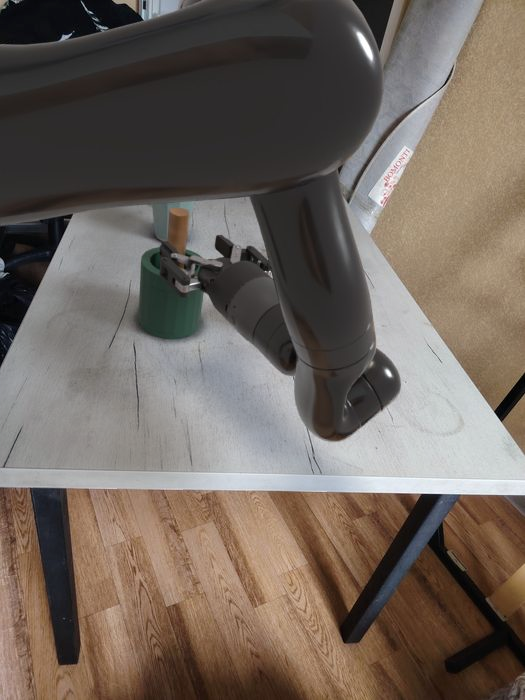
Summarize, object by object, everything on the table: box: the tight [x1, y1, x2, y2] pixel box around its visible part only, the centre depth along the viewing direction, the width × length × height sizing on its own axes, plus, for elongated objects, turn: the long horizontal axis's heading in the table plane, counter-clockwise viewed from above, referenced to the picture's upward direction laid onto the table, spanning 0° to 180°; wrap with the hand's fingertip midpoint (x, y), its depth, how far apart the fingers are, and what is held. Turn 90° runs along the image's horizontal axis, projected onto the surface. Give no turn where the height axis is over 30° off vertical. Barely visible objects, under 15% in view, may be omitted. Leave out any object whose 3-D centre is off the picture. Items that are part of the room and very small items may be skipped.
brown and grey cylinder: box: [167, 208, 190, 269], centre depth 73 cm, size 4×4×18 cm
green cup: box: [138, 246, 205, 340], centre depth 76 cm, size 10×10×11 cm
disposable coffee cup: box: [151, 201, 196, 242], centre depth 98 cm, size 11×11×15 cm
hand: (191, 243), depth 67 cm, fingers open, 8 cm apart
